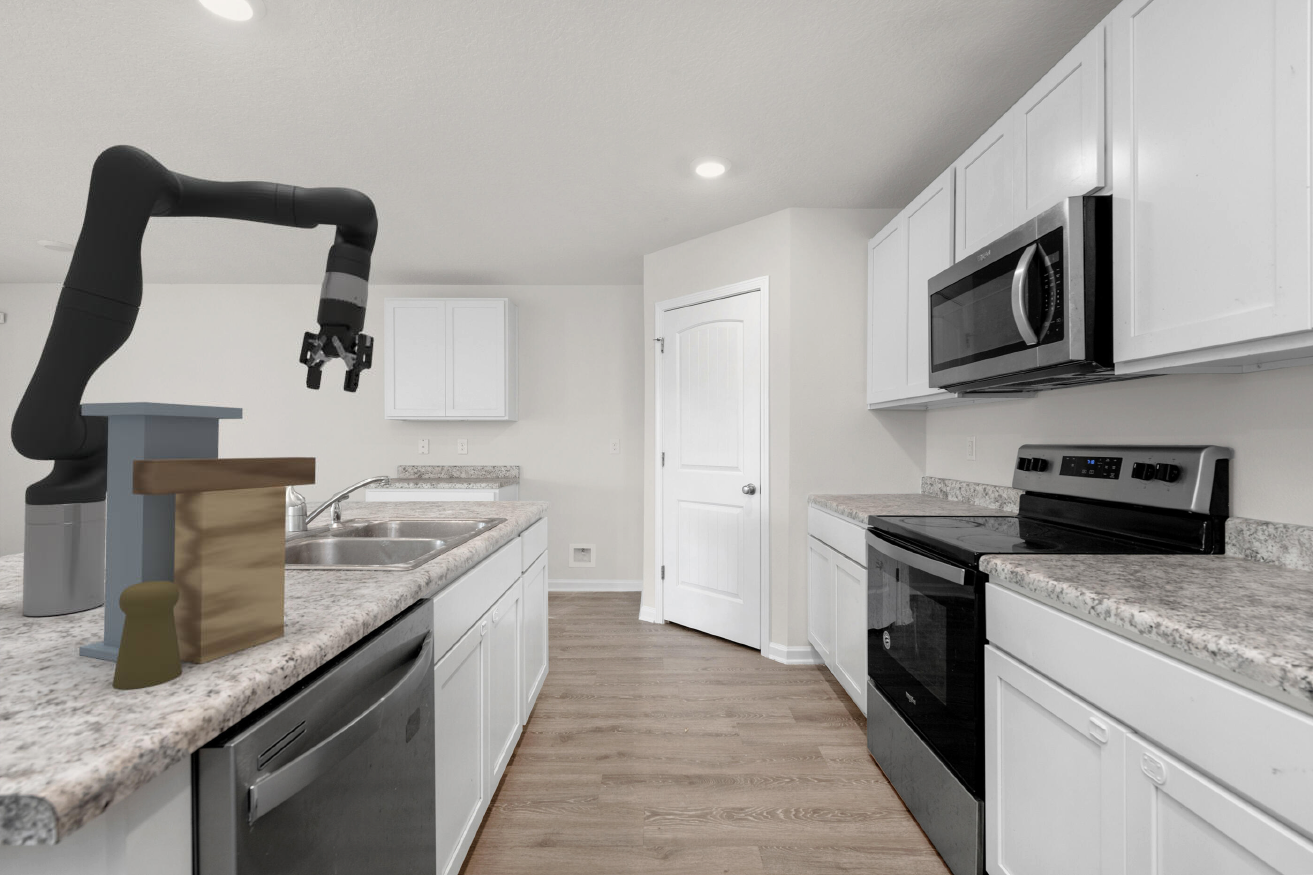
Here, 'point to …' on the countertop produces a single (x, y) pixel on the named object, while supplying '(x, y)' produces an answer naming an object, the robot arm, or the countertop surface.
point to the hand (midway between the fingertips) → (331, 390)
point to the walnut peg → (220, 474)
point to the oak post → (229, 570)
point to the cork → (148, 636)
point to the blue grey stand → (145, 496)
